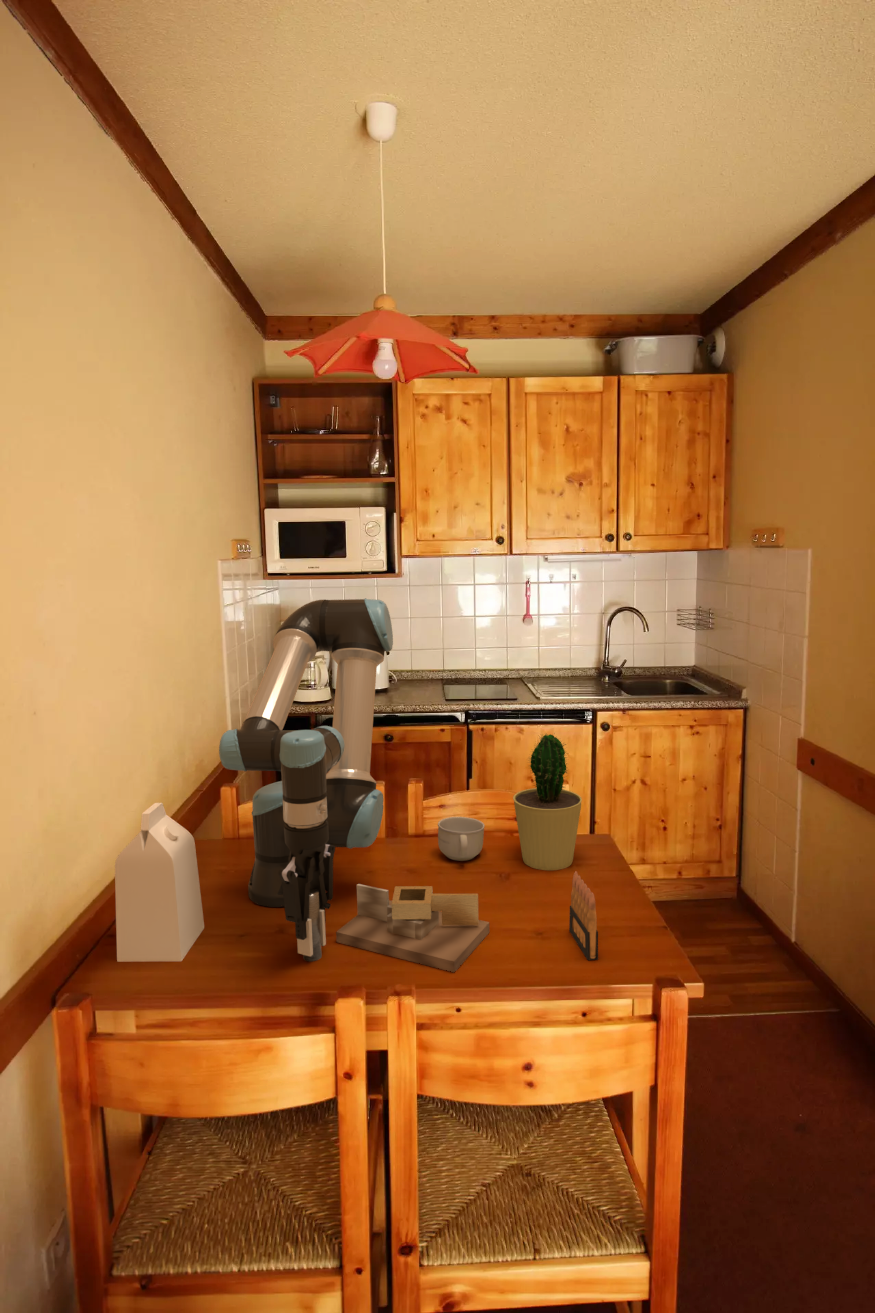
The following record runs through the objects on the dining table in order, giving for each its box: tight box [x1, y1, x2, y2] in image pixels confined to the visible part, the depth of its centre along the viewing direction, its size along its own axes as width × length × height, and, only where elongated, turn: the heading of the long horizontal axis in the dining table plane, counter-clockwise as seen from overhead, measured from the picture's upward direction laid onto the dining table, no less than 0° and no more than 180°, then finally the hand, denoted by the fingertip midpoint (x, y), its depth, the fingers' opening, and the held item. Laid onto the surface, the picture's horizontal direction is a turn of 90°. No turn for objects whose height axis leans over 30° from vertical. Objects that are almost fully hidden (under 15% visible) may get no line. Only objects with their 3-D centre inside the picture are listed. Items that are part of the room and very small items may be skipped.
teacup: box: [437, 816, 485, 862], centre depth 174 cm, size 14×11×8 cm
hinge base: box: [335, 883, 490, 973], centre depth 139 cm, size 24×15×8 cm, turn 63°
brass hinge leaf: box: [391, 885, 479, 925], centre depth 139 cm, size 16×7×6 cm, turn 88°
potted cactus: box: [512, 732, 583, 871], centre depth 171 cm, size 15×15×30 cm
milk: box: [114, 802, 205, 963], centre depth 137 cm, size 12×12×26 cm
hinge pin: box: [302, 888, 322, 963], centre depth 133 cm, size 3×3×12 cm
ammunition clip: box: [568, 870, 599, 961], centre depth 135 cm, size 11×2×12 cm, turn 8°
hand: (312, 948), depth 133 cm, fingers closed on hinge pin, 3 cm apart
